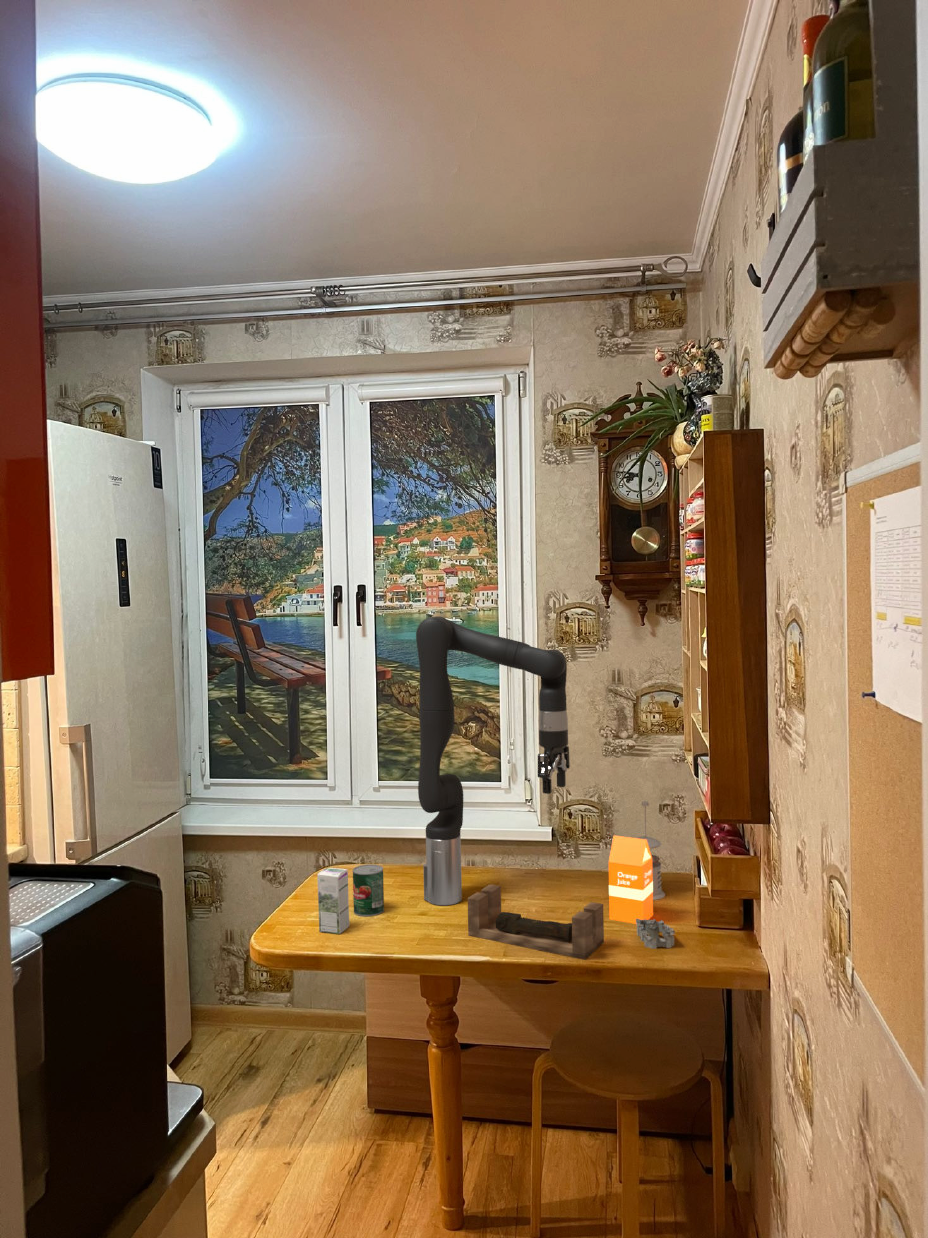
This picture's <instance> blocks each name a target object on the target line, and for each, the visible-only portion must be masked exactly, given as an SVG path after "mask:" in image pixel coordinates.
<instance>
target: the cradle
mask: <svg viewBox="0 0 928 1238" xmlns="http://www.w3.org/2000/svg"><path fill="white" fill-rule="evenodd" d="M501 912H502V887H501V885H496V884H489V885H487V886H485V887H483V888H482V889H480V892H479V891H477V892H475V893H473V894H472V895H470V896H469V897H467V926H468V927H467V931H468V933H467V934H468V936H470V937H474V938H479V939H484V940H490V941H494V942H498V943H503V944H509V945H513V946H517V947H521V948H527V949H531V950H537V951H542V952H545V953H550V954H551V953H552V954H556V955H561V956H566V957H569V958H575V959H578V960H585V961H586V959H588V958H589V957H590V956H591V955H592V954H593V953H594V952H595V951H596V950H598V948H600V947H601V946H602V945H603V944H604V943H605V934H604V933H605V931H604V927H605V925H604V921H605V920H604V918H605V917H604V903H599V902H594V901H591V902H589V903H588V904H586V906H584V907H583V910H579V911H578V912H577V913H576V914H574V915H573V916H571V923H572V940H571V941H570V942H568V941H567V940H566V939H558V938H553V937H547V936H541V935H535V934H528V933H519V934H515V935H514V934H511V933H507V932H503V931H500V930H498V929H496V919H497V917H498V915H499V914H500V913H501Z"/></svg>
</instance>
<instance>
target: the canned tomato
mask: <svg viewBox="0 0 928 1238" xmlns="http://www.w3.org/2000/svg"><path fill="white" fill-rule="evenodd" d="M384 885H385V884H384V867H383V866H381V865H378V864H372V863H371V864H369V863H368V864H362V865H357V866H355V867H354V868H353V869H352V895H353V898H352V899H353V914H354V915H355V916H359V917H365V918H366V917H375V916H378V915H381V914H382V913H384V912H385V896H384V893H385V892H384V891H385V889H384V887H385V886H384Z"/></svg>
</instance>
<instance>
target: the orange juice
mask: <svg viewBox="0 0 928 1238" xmlns="http://www.w3.org/2000/svg"><path fill="white" fill-rule="evenodd" d="M610 847H611V848H610V852H609V858H608V902H609V903H608V905H609V906H608V908H609V910H608V911H609V912H608V913H609V920H611V921H617V922H624V923H628V924H629V923H630V924H634V925H635V924H636V918H637V919H640V920H644V919H646V920H651V918H652V917H653V916H654V900H653V875H652V857H651V855H652V853H651V851H650V849H649V846H648V843H647V840H646V839H638V837H629V836H622V835H621V836H620V835H613V837H612V842H611V846H610Z"/></svg>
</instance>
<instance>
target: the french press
mask: <svg viewBox="0 0 928 1238" xmlns="http://www.w3.org/2000/svg"><path fill="white" fill-rule="evenodd" d="M649 803H650V802H648V800H644V801H642V802H641V806H643V807H644V833H645V835H644V836H643V835H642V836H638V837H637V838H638V839H646V840H647V843H648V846H649V850H650V849H652V850H653V849H656V848H659V847H661V845H662V842H661V841H660V840H658V838H655V837H652V836H647V810H646V808H647V807H649V806H650V805H649ZM651 857H652V875H653V901H656V900H661V899H663V898H664V897H665V896H666V893H665V892H664V891H663V890H662V875H661V874H662V863H661V862H660V859H661V858H660V857H659V856H657V855H656V854H651Z"/></svg>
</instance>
